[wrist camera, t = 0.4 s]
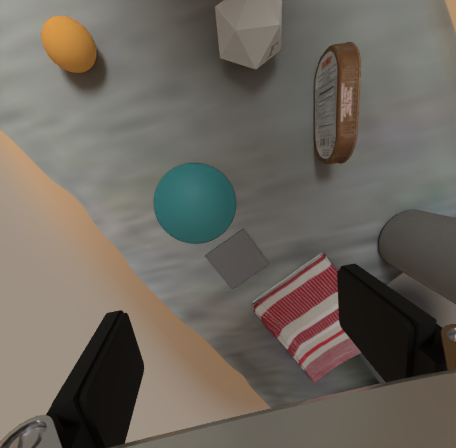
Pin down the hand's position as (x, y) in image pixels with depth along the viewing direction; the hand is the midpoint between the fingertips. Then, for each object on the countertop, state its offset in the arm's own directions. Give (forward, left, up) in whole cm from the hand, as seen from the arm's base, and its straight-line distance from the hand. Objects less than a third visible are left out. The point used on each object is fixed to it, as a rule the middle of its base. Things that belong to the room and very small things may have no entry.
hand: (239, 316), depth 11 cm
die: (-21, +9, -30) cm, 38 cm away
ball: (-23, -13, -27) cm, 38 cm away
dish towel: (+27, +15, -31) cm, 44 cm away
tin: (-10, +19, -30) cm, 37 cm away
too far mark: (+11, +2, -30) cm, 32 cm away
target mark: (0, -3, -30) cm, 30 cm away
